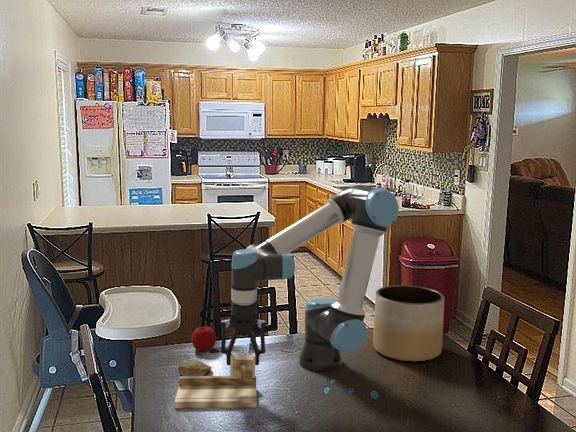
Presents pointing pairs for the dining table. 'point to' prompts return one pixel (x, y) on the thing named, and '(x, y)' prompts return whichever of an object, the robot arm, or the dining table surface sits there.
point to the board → (215, 392)
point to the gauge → (242, 367)
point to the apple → (203, 338)
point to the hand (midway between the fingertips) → (242, 374)
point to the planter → (408, 322)
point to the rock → (193, 368)
